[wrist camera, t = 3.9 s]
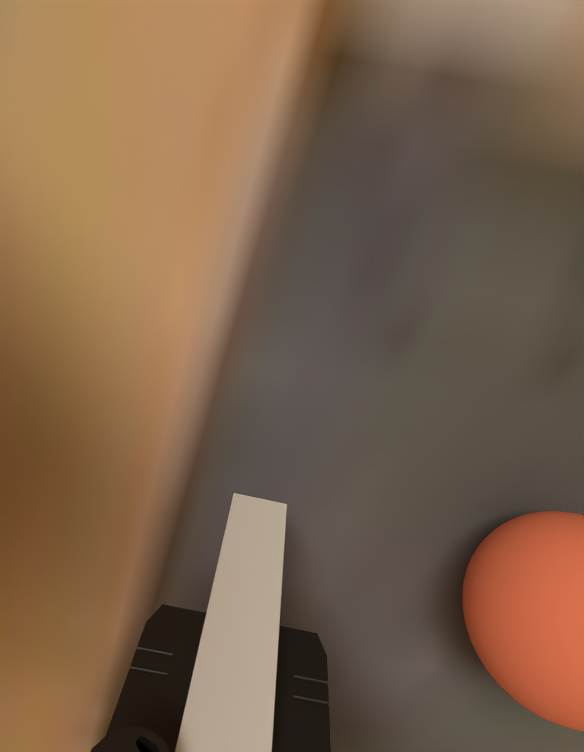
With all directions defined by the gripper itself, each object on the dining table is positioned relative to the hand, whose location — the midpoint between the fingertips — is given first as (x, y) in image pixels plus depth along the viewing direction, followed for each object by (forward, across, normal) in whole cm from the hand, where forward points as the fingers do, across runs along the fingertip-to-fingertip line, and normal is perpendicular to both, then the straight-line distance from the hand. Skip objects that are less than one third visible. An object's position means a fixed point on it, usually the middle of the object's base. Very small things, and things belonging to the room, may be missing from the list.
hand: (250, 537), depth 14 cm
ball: (-1, +9, 0) cm, 9 cm away
